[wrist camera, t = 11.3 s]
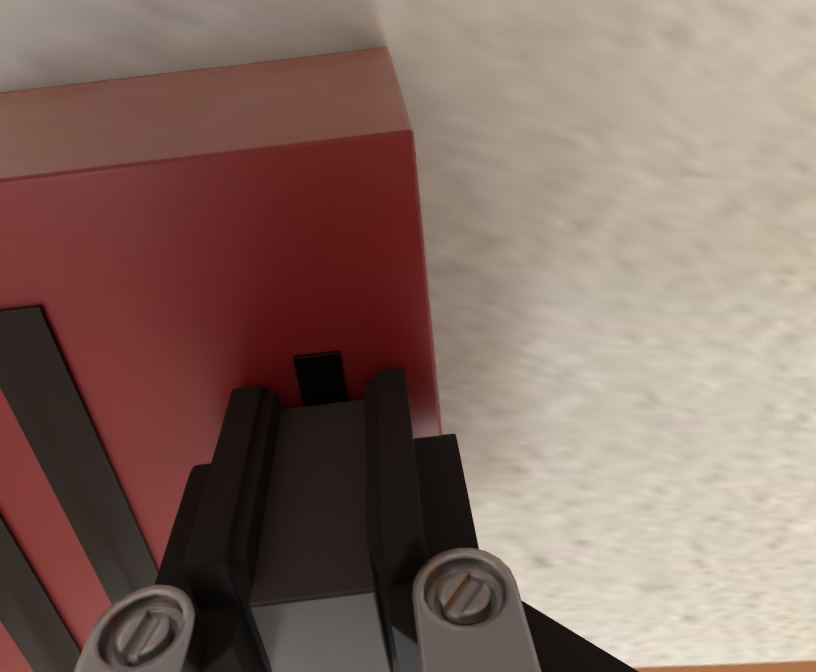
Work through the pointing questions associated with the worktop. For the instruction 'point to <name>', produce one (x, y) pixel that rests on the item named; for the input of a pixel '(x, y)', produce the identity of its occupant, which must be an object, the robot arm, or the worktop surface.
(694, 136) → the worktop surface
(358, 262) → the toaster
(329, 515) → the slider
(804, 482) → the worktop surface
